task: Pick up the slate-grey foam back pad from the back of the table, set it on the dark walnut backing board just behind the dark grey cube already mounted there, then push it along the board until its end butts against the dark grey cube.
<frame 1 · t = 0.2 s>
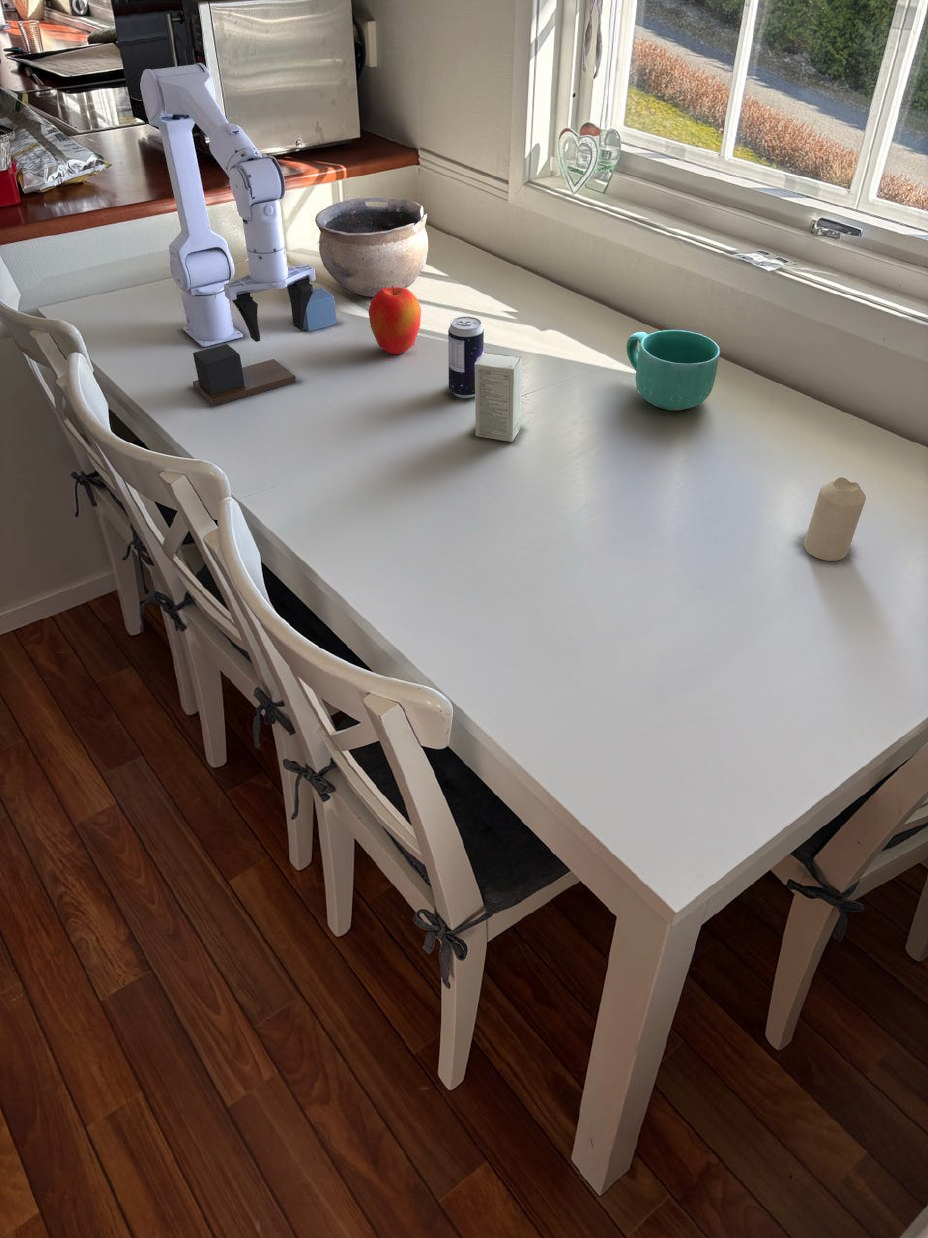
hand: (277, 333, 148), 10 cm above the table, tool pointing down, fingers open, 7 cm apart
apple: (396, 352, 166), on the table
dark grey cube: (221, 384, 153), resting on backing board
cosmetic box: (496, 434, 144), on the table
candle: (824, 550, 121), on the table
ceramic bowl: (375, 290, 188), on the table
beverage can: (465, 393, 154), on the table
backing board: (245, 385, 156), on the table
mug: (662, 397, 153), on the table
slate pad: (316, 323, 175), on the table
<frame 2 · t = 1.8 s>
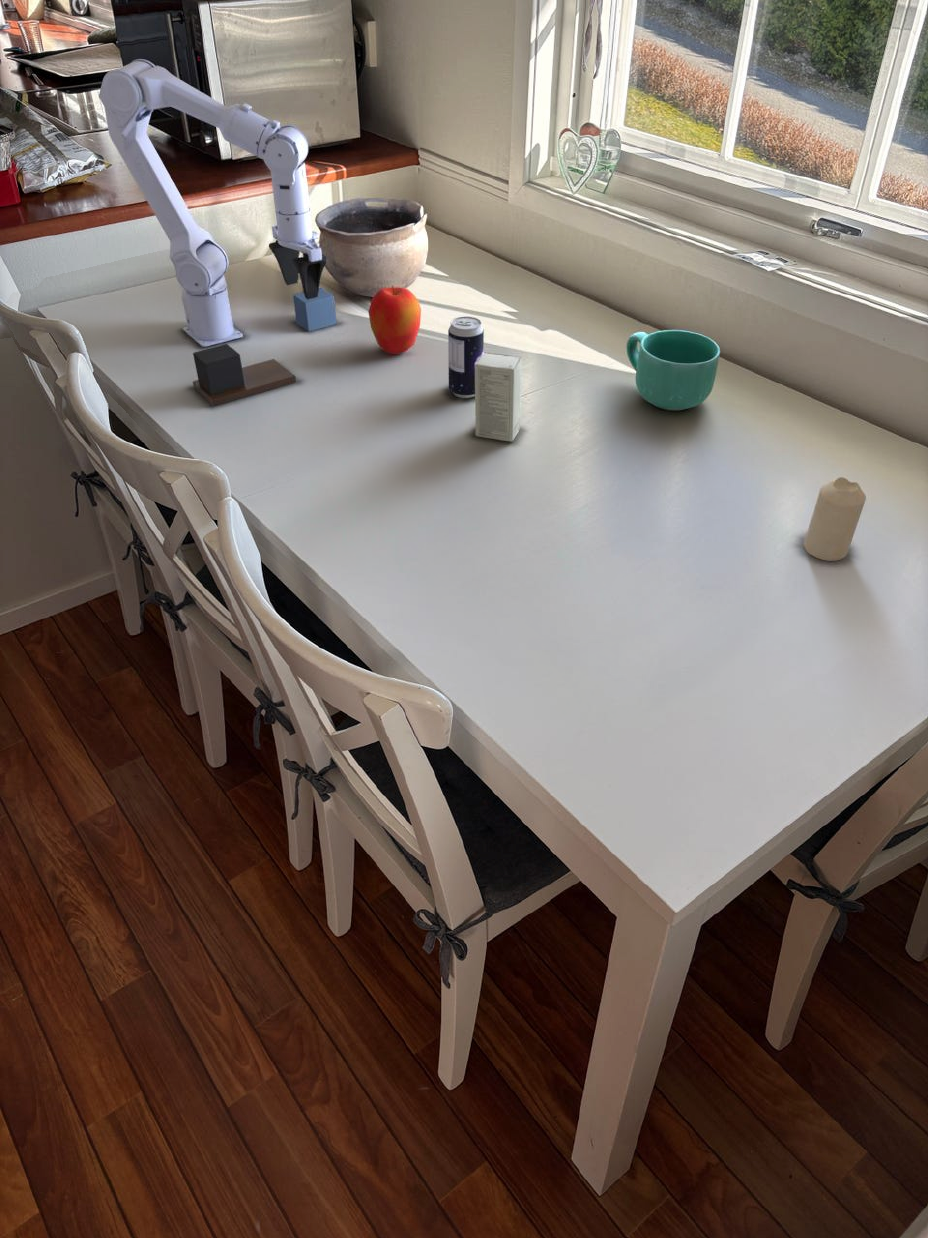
hand: (301, 290, 162), 10 cm above the table, tool pointing down, fingers open, 7 cm apart
nothing on the table moved.
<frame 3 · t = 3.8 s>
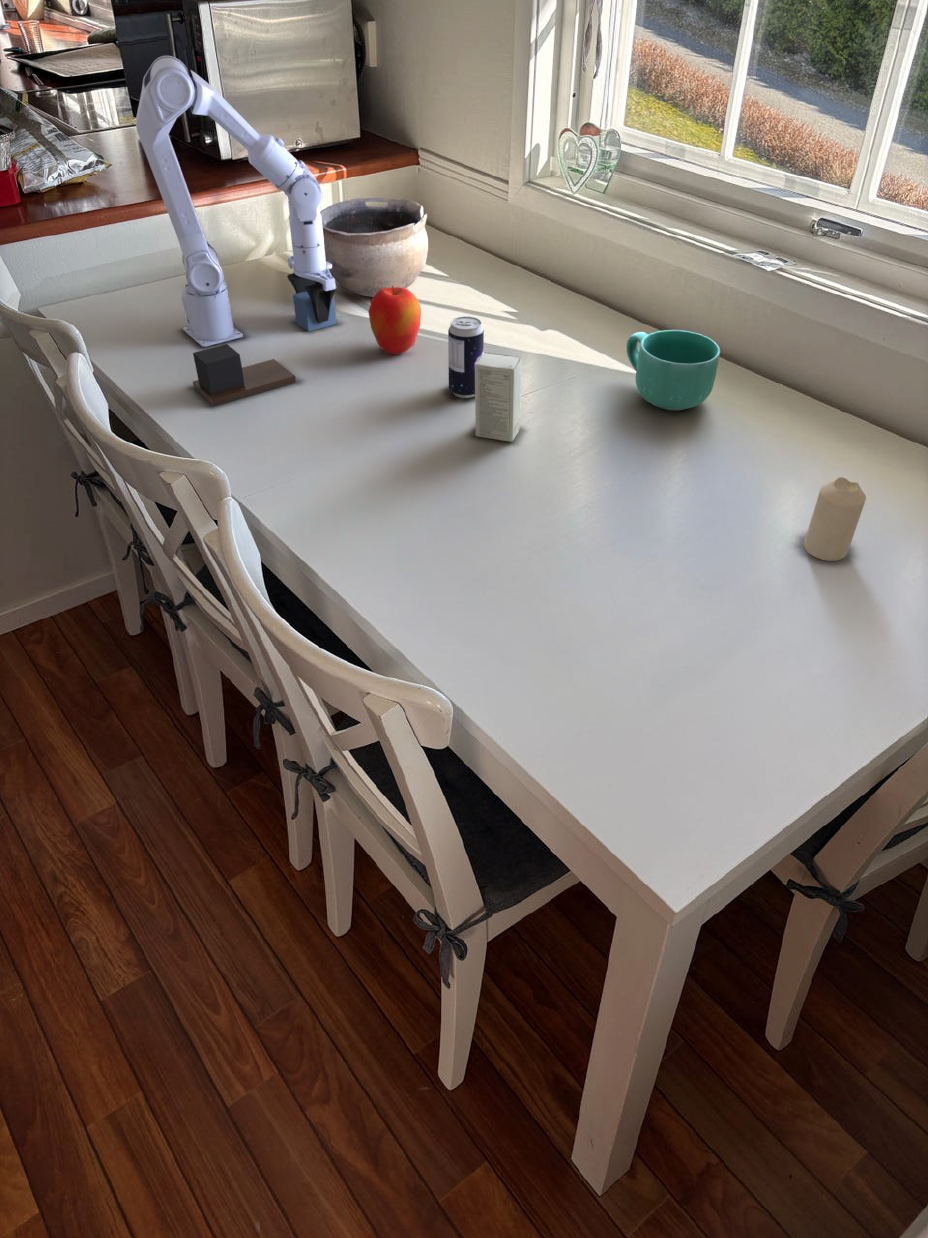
hand: (315, 316, 174), 1 cm above the table, tool pointing down, fingers closed on slate pad, 5 cm apart
slate pad: (316, 323, 175), on the table, touching gripper
everything else where it was.
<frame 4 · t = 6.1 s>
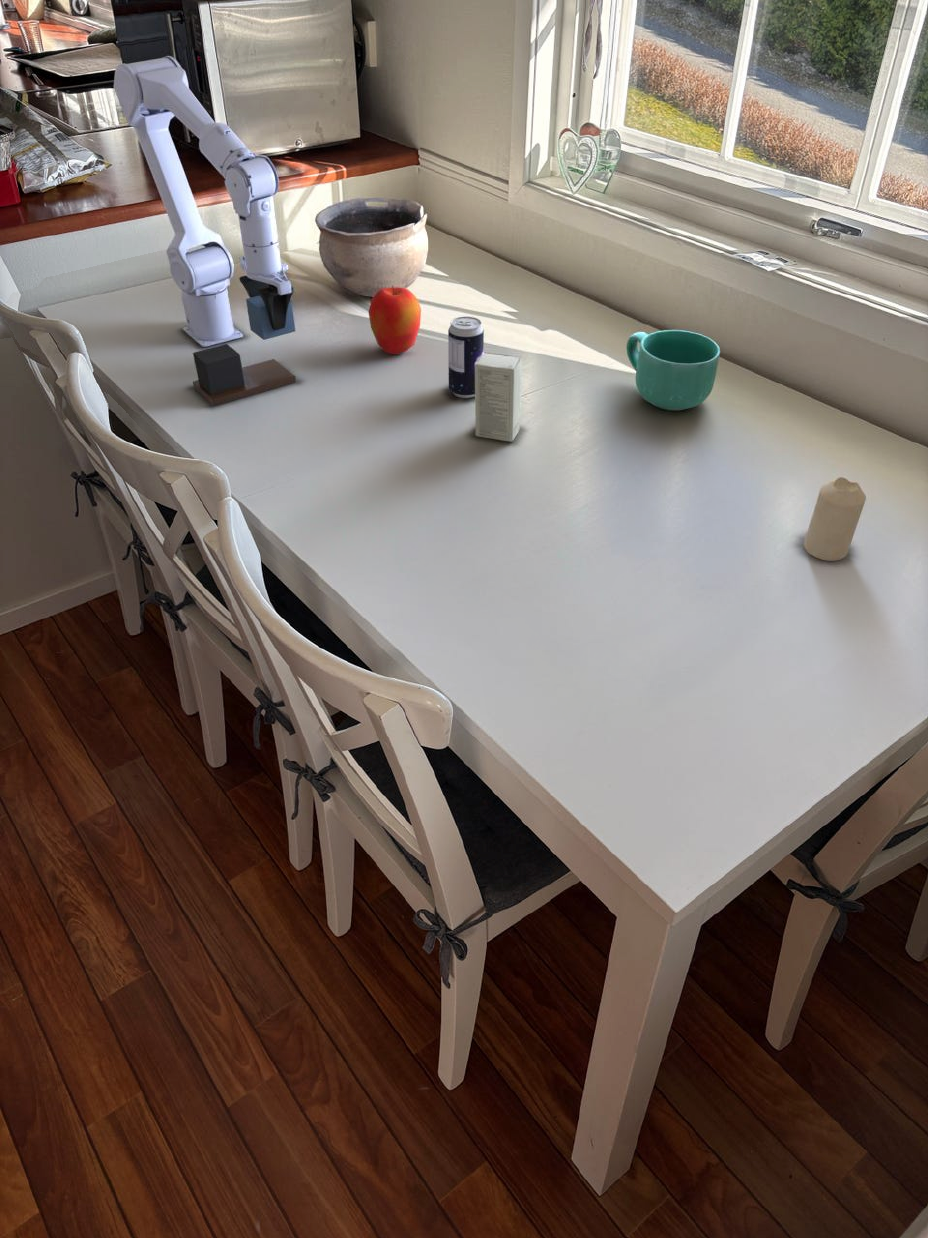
hand: (271, 323, 157), 7 cm above the table, tool pointing down, fingers closed on slate pad, 5 cm apart
slate pad: (273, 330, 158), point 6 cm above the table, touching gripper
everything else where it was.
when the fingers open (3 cm above the table, at t = 8.4 s): slate pad stays where it is, resting on backing board.
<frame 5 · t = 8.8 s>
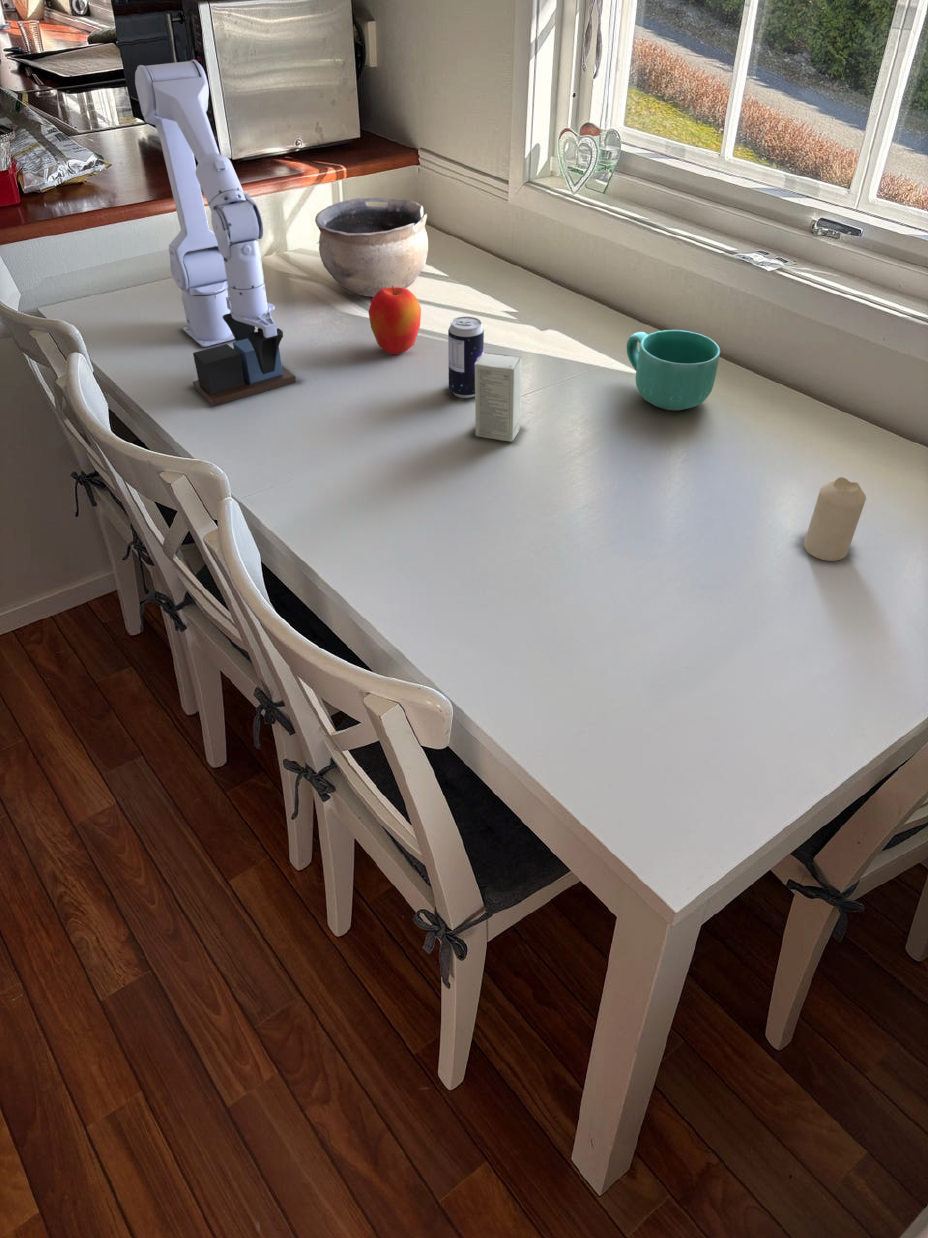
hand: (258, 363, 155), 3 cm above the table, tool pointing down, fingers open, 7 cm apart
slate pad: (260, 373, 156), point 1 cm above the table, touching backing board
everything else where it was.
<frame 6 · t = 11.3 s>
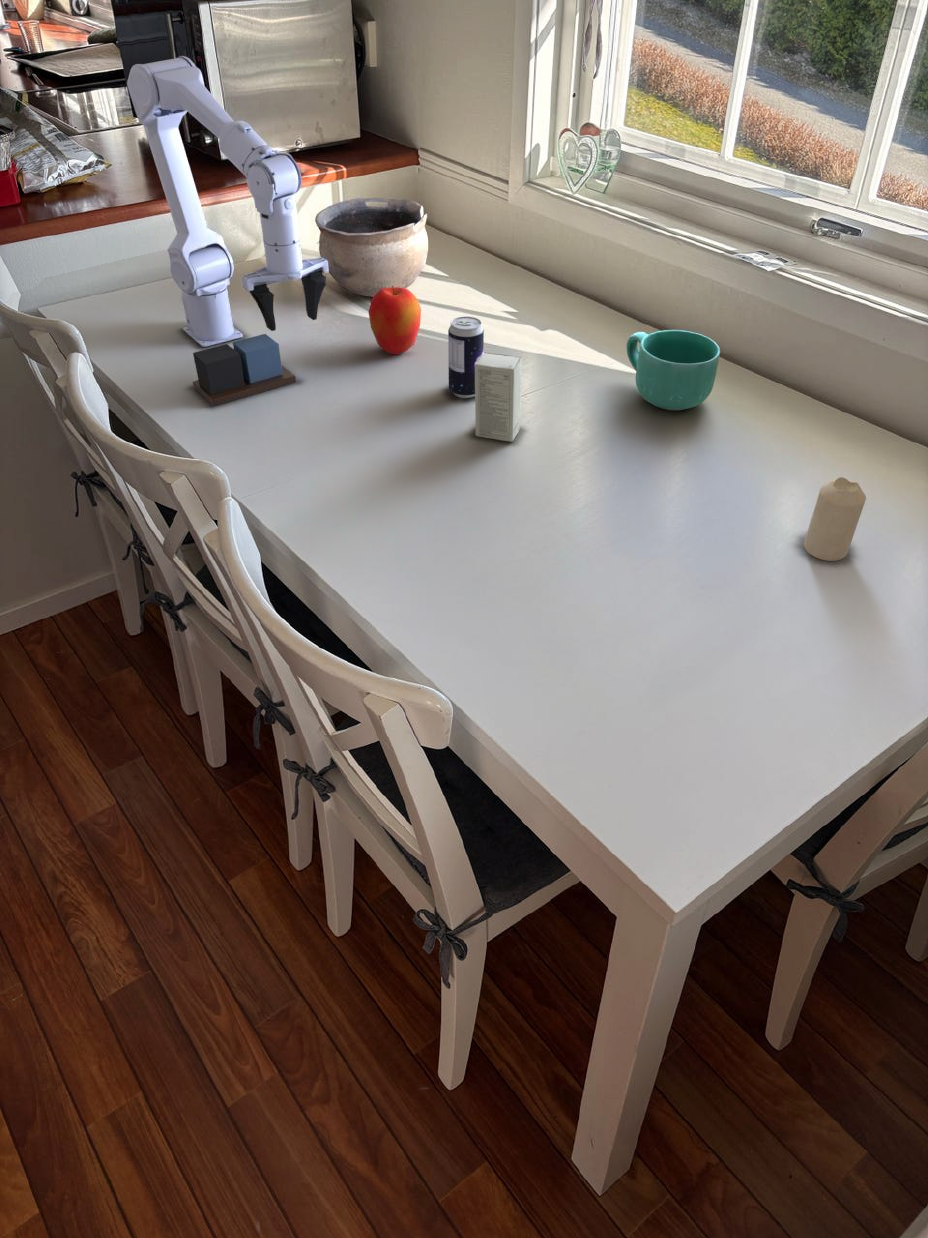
hand: (291, 323, 154), 8 cm above the table, tool pointing down, fingers open, 7 cm apart
nothing on the table moved.
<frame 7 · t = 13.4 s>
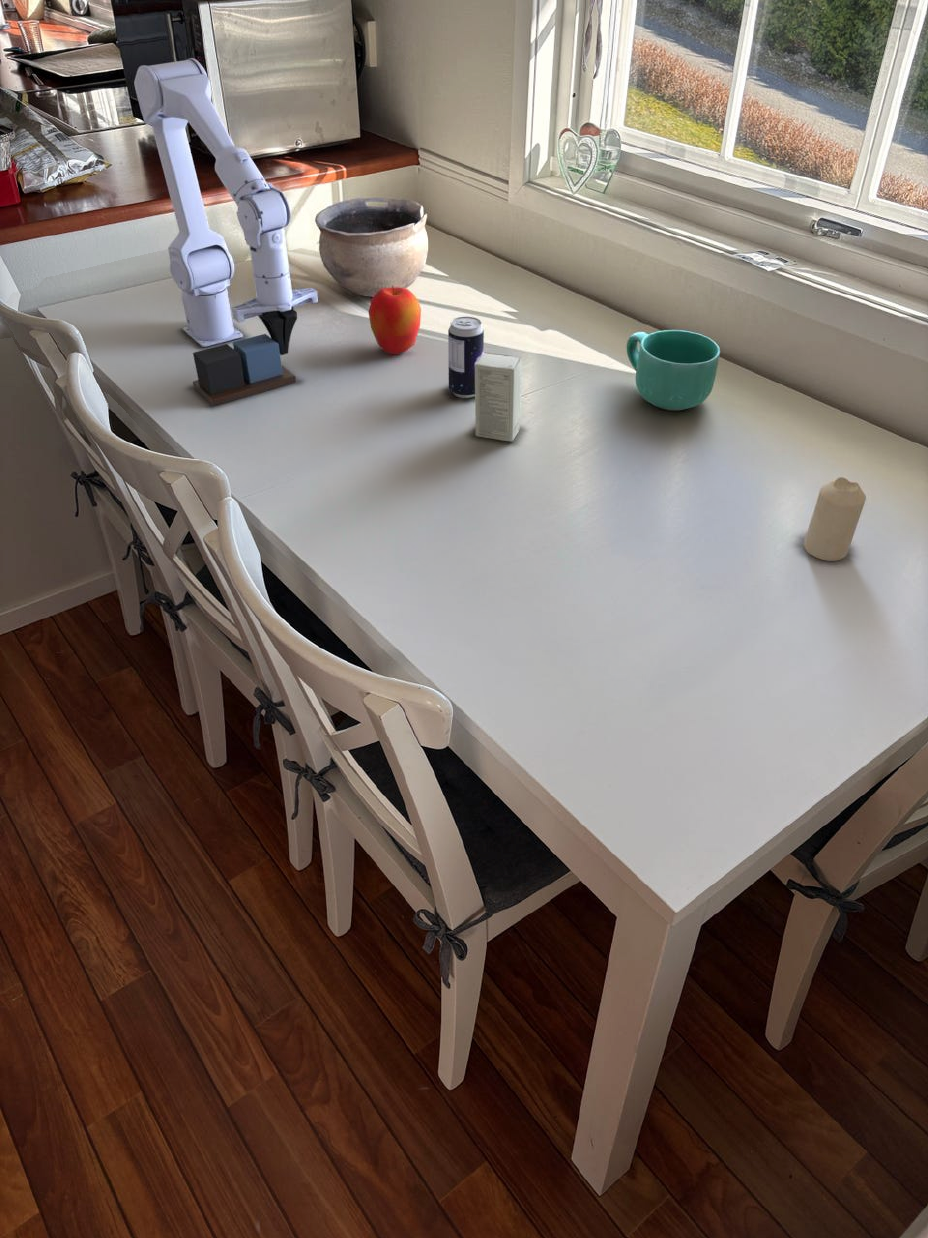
hand: (282, 352, 156), 4 cm above the table, tool pointing down, fingers closed
slate pad: (260, 373, 156), point 1 cm above the table, touching backing board, gripper
everything else where it was.
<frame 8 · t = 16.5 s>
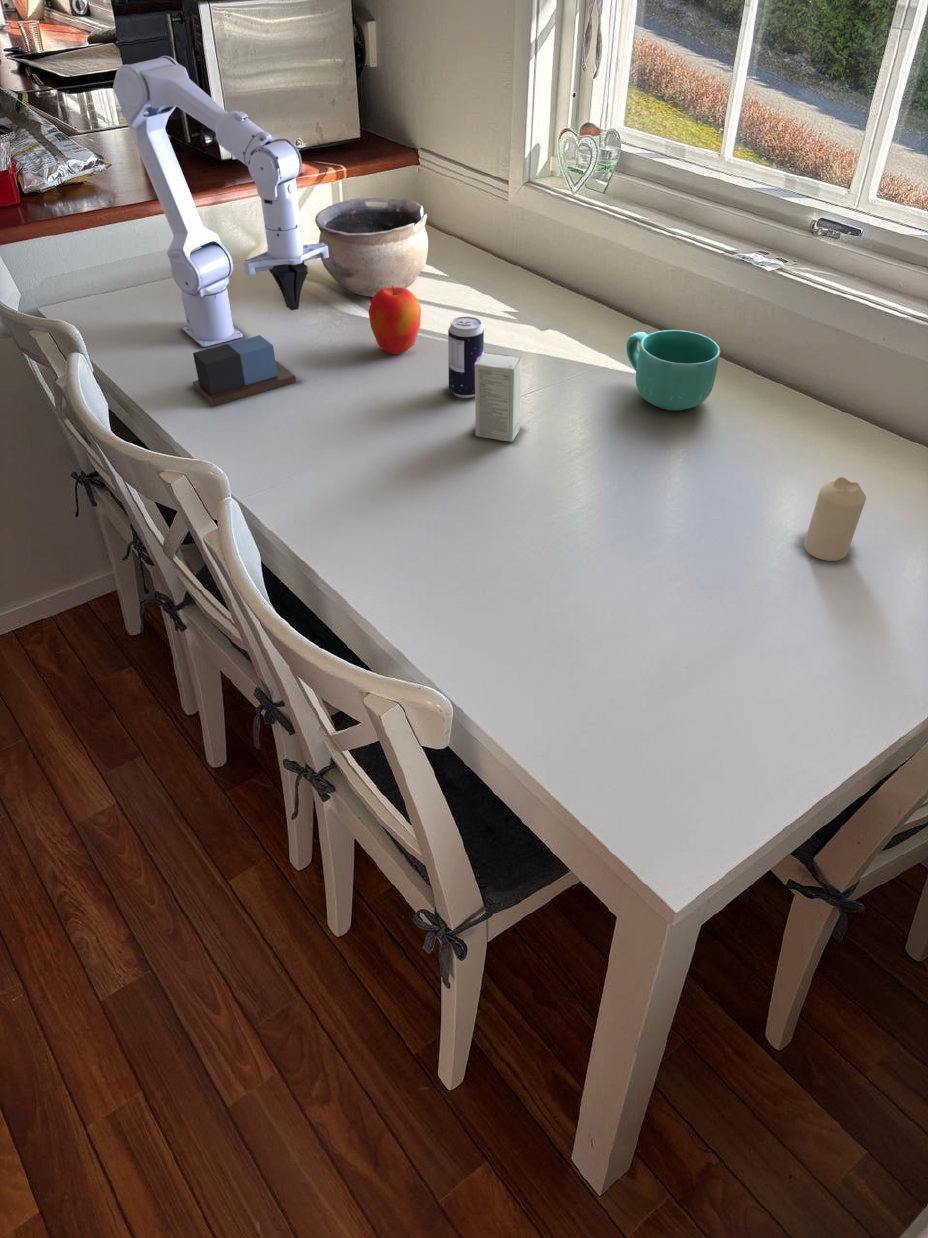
hand: (292, 307, 157), 9 cm above the table, tool pointing down, fingers closed
slate pad: (255, 375, 156), point 1 cm above the table, touching backing board
everything else where it was.
at the end: slate pad 0.4 cm from the target spot on the table beside the dark grey cube, resting on backing board; slate pad tilted 0°; slate pad touching backing board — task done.
